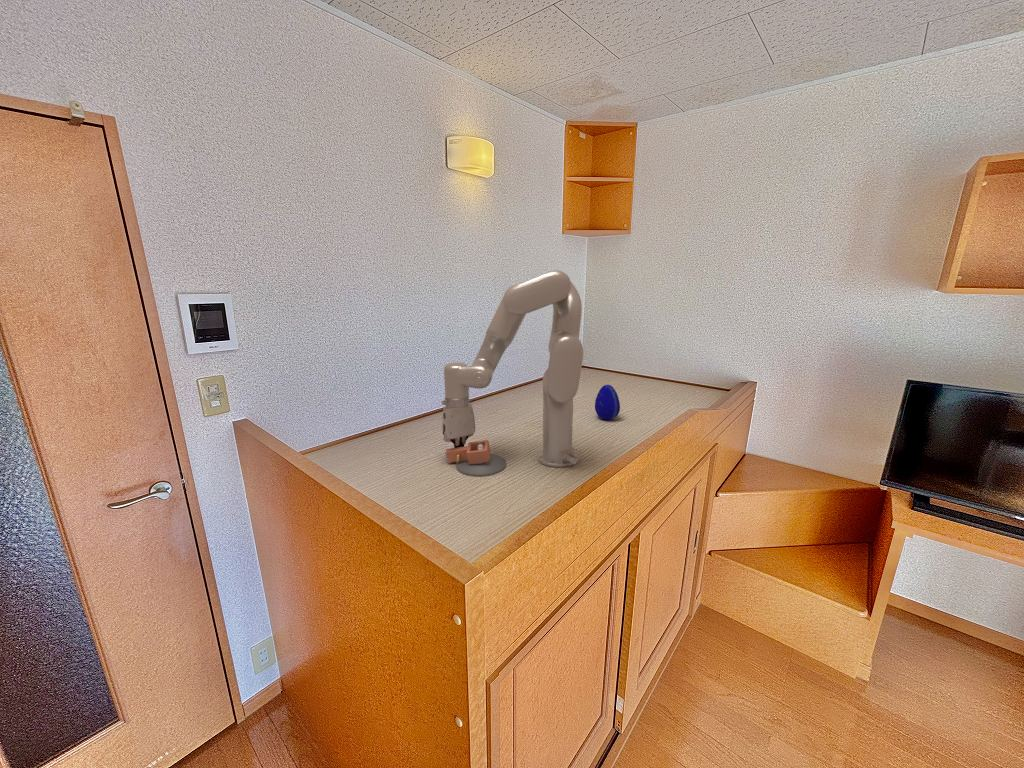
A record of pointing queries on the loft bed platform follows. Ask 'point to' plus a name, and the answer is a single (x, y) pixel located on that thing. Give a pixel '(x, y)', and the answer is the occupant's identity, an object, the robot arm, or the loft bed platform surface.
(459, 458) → the dowel pin
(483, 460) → the orange square loop
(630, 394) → the loft bed platform surface
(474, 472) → the post base
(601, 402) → the ornament
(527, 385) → the loft bed platform surface
